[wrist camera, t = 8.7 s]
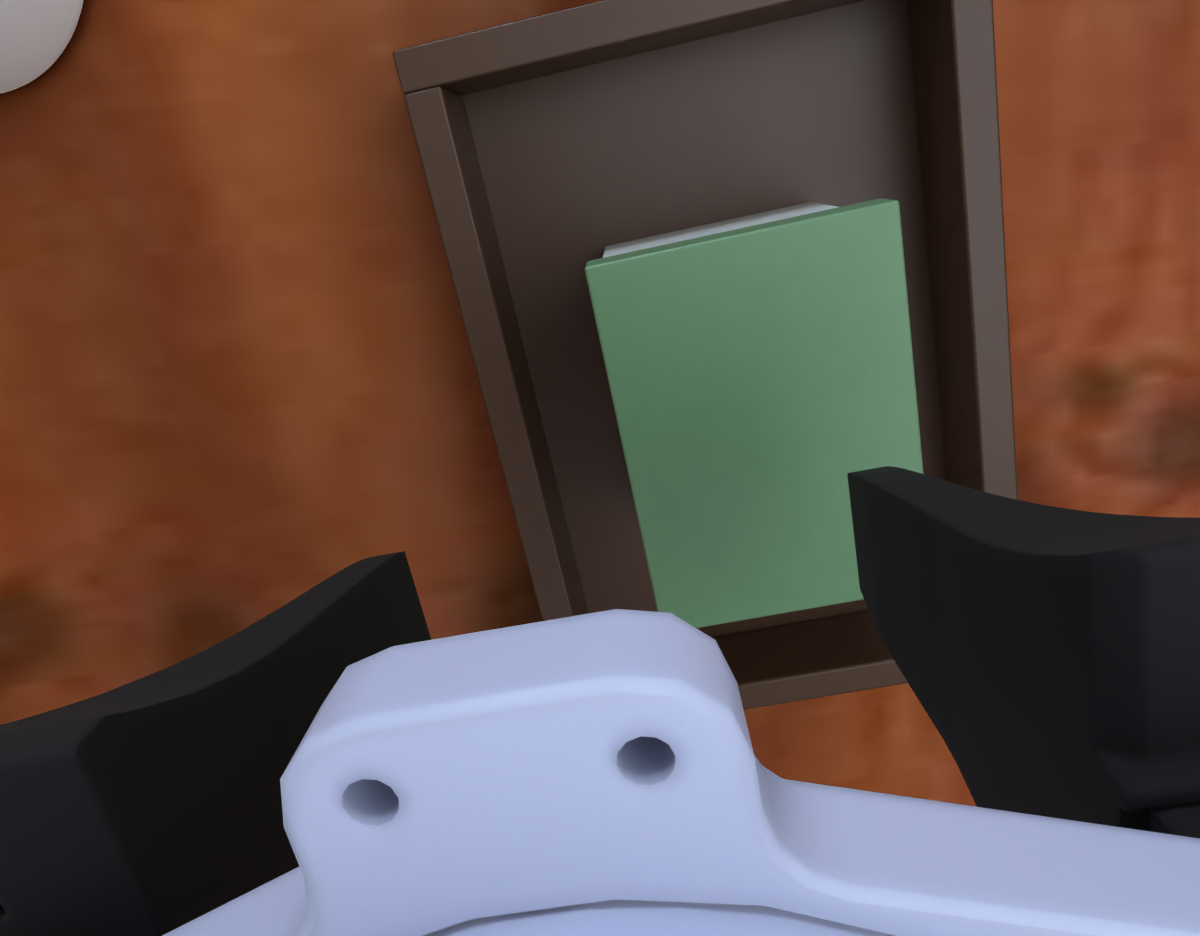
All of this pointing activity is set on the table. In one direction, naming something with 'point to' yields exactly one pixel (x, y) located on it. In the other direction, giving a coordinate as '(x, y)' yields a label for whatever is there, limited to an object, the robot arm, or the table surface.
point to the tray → (698, 197)
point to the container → (758, 399)
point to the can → (33, 37)
